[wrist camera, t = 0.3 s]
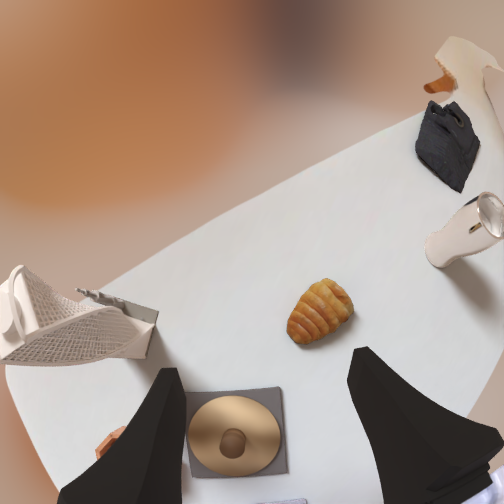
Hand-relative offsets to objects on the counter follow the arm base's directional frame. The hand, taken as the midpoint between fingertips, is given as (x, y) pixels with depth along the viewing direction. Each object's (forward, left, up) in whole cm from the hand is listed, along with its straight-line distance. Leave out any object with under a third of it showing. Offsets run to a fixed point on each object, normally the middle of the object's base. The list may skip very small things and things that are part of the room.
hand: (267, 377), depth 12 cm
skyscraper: (+4, +17, -29) cm, 34 cm away
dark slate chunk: (+34, -43, -29) cm, 62 cm away
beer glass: (+12, -31, -29) cm, 44 cm away
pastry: (+5, -9, -29) cm, 31 cm away
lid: (-11, +4, -28) cm, 30 cm away
